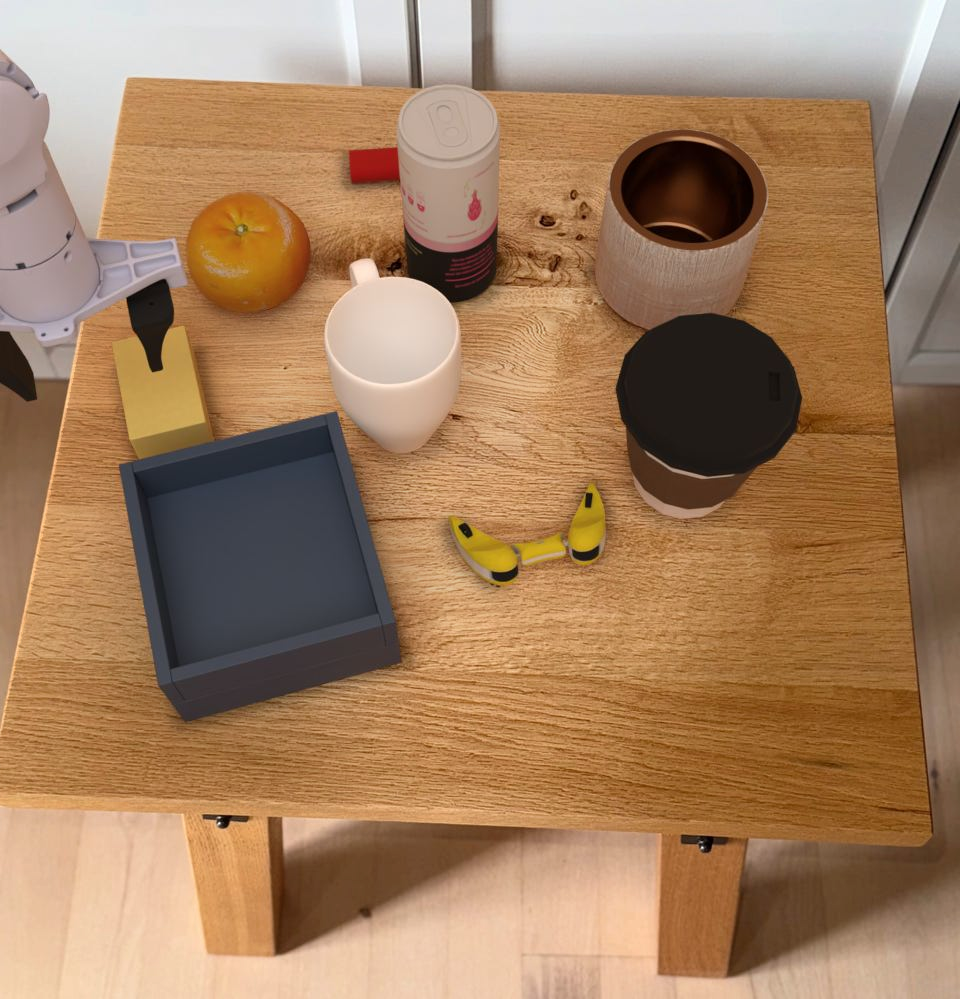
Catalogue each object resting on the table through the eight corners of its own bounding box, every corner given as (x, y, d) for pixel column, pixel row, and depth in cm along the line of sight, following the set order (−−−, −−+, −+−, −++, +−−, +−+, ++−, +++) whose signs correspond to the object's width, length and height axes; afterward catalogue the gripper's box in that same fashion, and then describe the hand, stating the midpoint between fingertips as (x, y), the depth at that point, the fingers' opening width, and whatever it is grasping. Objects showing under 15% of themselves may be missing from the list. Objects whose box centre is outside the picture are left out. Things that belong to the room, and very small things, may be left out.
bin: (185, 722, 73) (157, 685, 67) (146, 515, 79) (118, 464, 73) (402, 662, 75) (395, 621, 68) (347, 464, 81) (336, 410, 75)
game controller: (475, 612, 75) (469, 572, 73) (451, 545, 80) (445, 506, 78) (626, 573, 76) (625, 533, 74) (594, 510, 81) (592, 470, 79)
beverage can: (483, 227, 90) (485, 73, 77) (506, 296, 88) (512, 148, 74) (398, 245, 90) (385, 92, 76) (419, 315, 87) (409, 169, 73)
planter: (683, 198, 92) (705, 104, 83) (771, 297, 88) (804, 209, 79) (564, 257, 89) (574, 166, 81) (649, 362, 85) (669, 278, 76)
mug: (479, 459, 81) (479, 365, 71) (361, 494, 80) (344, 404, 70) (424, 321, 86) (417, 215, 76) (312, 352, 85) (290, 249, 75)
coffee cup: (760, 415, 83) (803, 311, 72) (764, 559, 78) (810, 471, 67) (602, 403, 83) (621, 298, 73) (595, 546, 78) (615, 456, 68)
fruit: (165, 308, 83) (203, 212, 78) (177, 246, 89) (213, 153, 84) (282, 350, 86) (325, 259, 81) (285, 286, 92) (326, 199, 88)
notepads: (142, 466, 81) (129, 440, 78) (124, 370, 84) (111, 341, 81) (216, 448, 82) (205, 421, 79) (195, 353, 85) (184, 324, 82)
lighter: (348, 146, 92) (452, 139, 93) (350, 158, 93) (452, 151, 94) (350, 174, 91) (455, 167, 91) (351, 186, 92) (455, 179, 93)
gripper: (-121, 319, 59) (-21, 455, 71) (173, 255, 61) (222, 398, 73) (-129, 212, 62) (-33, 360, 74) (150, 153, 64) (201, 307, 76)
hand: (93, 372), depth 74 cm, fingers open, 7 cm apart
